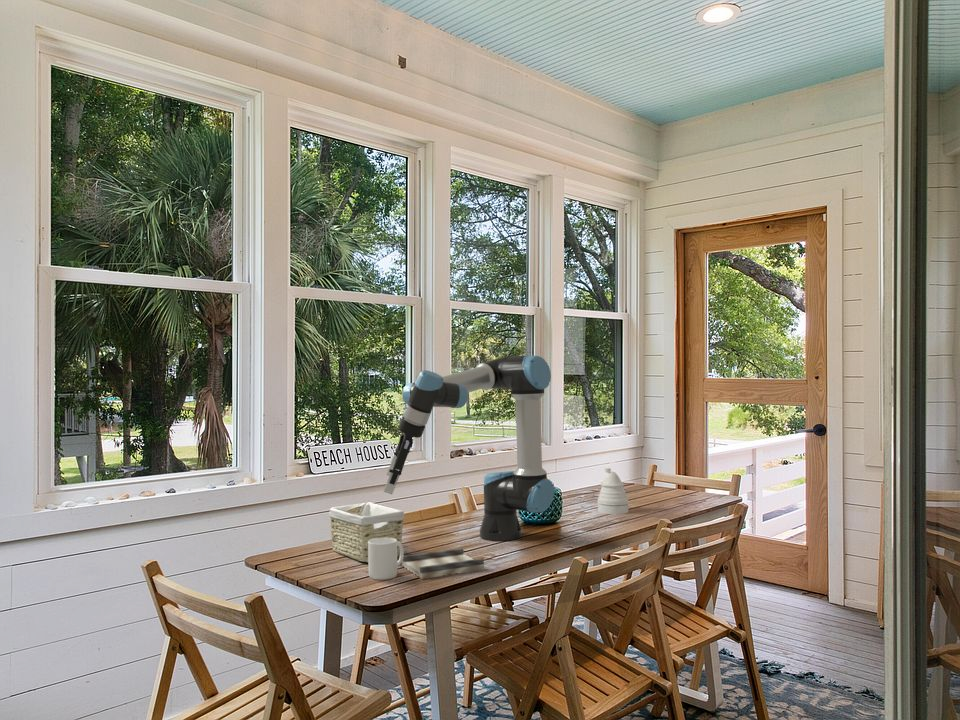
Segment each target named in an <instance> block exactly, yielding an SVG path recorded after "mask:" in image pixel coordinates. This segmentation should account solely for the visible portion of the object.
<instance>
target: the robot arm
mask: <svg viewBox="0 0 960 720" xmlns="http://www.w3.org/2000/svg"><path fill="white" fill-rule="evenodd" d="M551 373H552V371H551V368H550V366H549V363H548V362H547V361H546V359H544V358H543V357H541V356H539V355H531V354H528V355H511V356H509V355H507V356H502V357H498V358H495V359H491V360H488V361H484V362H482V363H478V364H477V365H476V366H475V367H474V368H471V369H470V368H469V369H468V370H467V369H466V370H462V371H460V372H455V373H451V374H448V375H444V376H441V375H440V374H438V373H435V372H434V371H431V370H421V371H420V373H419V374H418V376H417V378H416V380H415V382H410V383H407V384H406V385H405V386H404V387H403V389H402V393H401V394H402V395H401V396H402V400H403V402H404V403H405V404H406V405H404V406H403V409H404V411H403V415H402V417H401V419H400V421H399V425H398V427H397V428H398V430H399V431H400V432H401V433H402V434H401V435H400V437H399V441H398V443H397V446H396V448H395V452H394V453H393V454H394V455H393V456H392V459H391V462H390V464H389V467H388V470H387V472H386V476H388V479H387V482H386V484H385V487H384V489H383V493H386V494H389V495H393V494H394V491H395V489H396V486H397V484H398V481H399V478H400V476H401V475H402V471H403V469H404V465H405V463H406V460H407V457H408V455H409V453H410V452H411V451H410V450H411V448H412V447H413V444H414V439H413V438H415V439H417V438H418V439H419V438H421V437H422V435H423V433H424V431H425V429H426V425H427V424H428V422H429V419H430V416H431V414H432V411H433V408H435V407H436V408H451V409H461V408H462V407H465V405H466V404H467V401H468V398H469V393H471V392H475V391H478V390H483V391H489V390H492V389H493V390H495V389H499V390H500V389H504V390H506V389H507V390H510V395H511V396H512V397H513V398H514V399H515V425H516V426H515V428H516V429H515V431H516V460H517V461H516V463H517V464H516V465H517V466H516V467H517V468H516V469H515V470H507V471H499V472H497V471H496V472H490V473H487V474H486V475H484V478H483V479H484V481H483V505H484V511H483V512H484V515H483V519H482V520H481V526H480V529H479V537H480V538H481V539H483V540H487V541H488V540H489V541H494V542H495V541H496V542H497V541H498V542H499V541H501V542H502V541H504V542H505V541H512V540H513V541H514V540H518V539H520V538H521V537H522V535H523V533H522V532H523V531H522V527H521V524H520V521H519V518H518V515H517V511H523V512H529V513H544V512H545V511H546V510H548V509H549V508H550V505H552V502H553V499H554V497H555V486H554V483H553V481H552V480H550V479H549V478H547V477H548V475H547V473H548V472H547V471H546V470H545V469H544V468H543V457H542V456H543V455H542V451H543V450H542V417H541V415H542V414H541V399H542V397H543V396H544V395H545V389H547V388H548V387H549V386H550V383H551V379H552V374H551Z"/></svg>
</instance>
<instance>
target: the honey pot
mask: <svg viewBox="0 0 960 720" xmlns="http://www.w3.org/2000/svg"><path fill="white" fill-rule="evenodd" d="M611 470H612V469H611V468H609V467H608V468H607V467H605V468H604V471H605V473H606V474H607V475H606V477H605V478H604V481H602V482H600V484H599V485H600V486H601V489H600V490H599V494H598V497H597V512H598V513H600V512H601V513H600V514H605V513H607V514H606V515H624V514H628V513H629V498H628V495H627V493H626V489H625V488H624V486H625V484H624V482H622V480H621V479H620V477H619V475H618V474H617V473H616V472H614V471H611Z"/></svg>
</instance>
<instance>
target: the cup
mask: <svg viewBox="0 0 960 720" xmlns="http://www.w3.org/2000/svg"><path fill="white" fill-rule="evenodd" d="M397 546H399V548H400V555H399V558H398V556H397ZM404 551H405V550H404V546H403V544H401V542H397V539H394V538H375V539H371V540H369V541H368V562H367V563H368V566H367V567H368V576H369V578H370V579H372V580H375V581H376V580H377V581H384V580H385V581H386V580H391V579H394V578H396V577H397V575H398V566H400V565H401V564H402V561H403V556H405V555H404Z"/></svg>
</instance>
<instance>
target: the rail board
mask: <svg viewBox="0 0 960 720" xmlns="http://www.w3.org/2000/svg"><path fill="white" fill-rule="evenodd" d="M484 560H485V559H484V558H482V557H481V558H475V559H474V558H472V557H470V556H468V555H467V554H465V553H464V548H454V549H445V550H439V551H431V552H422V553H415V554H408V555H404V556H403V560H402V562H401V564H402V565H401V566H402V567H403V566H404V567H403V568H405V569H406V568H407V569H406V570H408V571H409V570H410V571H409V572H410V573H412V572H413V573H412V574H414V575H415V574H416V575H415V576H417V577H418V576H419V577H418V578H419V579H421V580H422V579H423V580H424V578H425V579H429V578H439V577H444V576H443V575H445V576H450V575H449V574H451V575H456V574H455V573H458V574H463V573H462V572H465V573H470V571H471V572H476V571H484V570H485V561H484ZM468 571H469V572H468Z"/></svg>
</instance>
